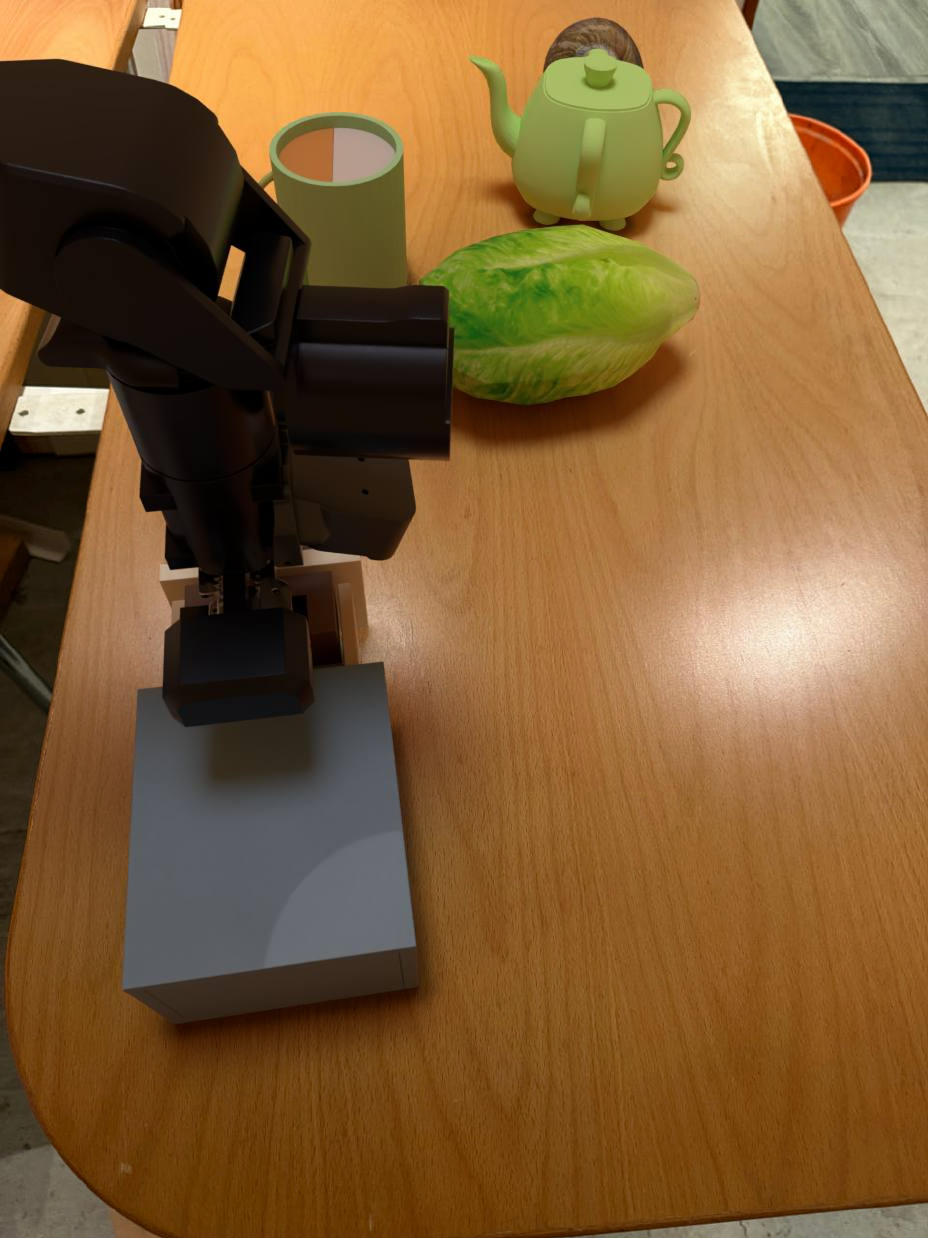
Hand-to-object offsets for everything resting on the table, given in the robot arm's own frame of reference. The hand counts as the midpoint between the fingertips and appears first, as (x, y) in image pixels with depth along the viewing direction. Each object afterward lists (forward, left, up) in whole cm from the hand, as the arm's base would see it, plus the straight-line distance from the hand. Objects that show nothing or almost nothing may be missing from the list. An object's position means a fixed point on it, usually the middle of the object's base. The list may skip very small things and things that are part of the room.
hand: (264, 630), depth 50 cm
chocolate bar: (0, 0, -1) cm, 1 cm away
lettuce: (+22, +26, -7) cm, 35 cm away
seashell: (+35, +66, -7) cm, 75 cm away
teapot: (+29, +50, -7) cm, 58 cm away
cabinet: (0, -11, -7) cm, 13 cm away
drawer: (0, 0, -6) cm, 6 cm away
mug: (+6, +40, -7) cm, 41 cm away
